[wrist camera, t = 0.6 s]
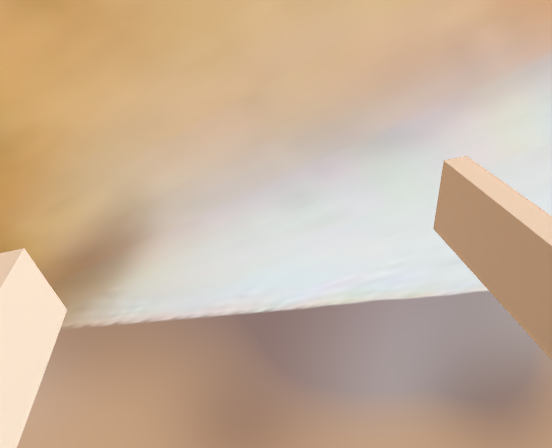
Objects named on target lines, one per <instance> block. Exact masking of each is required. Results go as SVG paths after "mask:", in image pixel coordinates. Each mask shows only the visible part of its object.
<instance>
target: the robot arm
mask: <svg viewBox="0 0 552 448" xmlns="http://www.w3.org/2000/svg"><path fill="white" fill-rule="evenodd" d="M434 230H435V231H436V232H437V233H438V234H439V235H440V237H441V238H442V239H443V240H444V241H445V242H446V243H447V244H448V245H449V247H450V248H451V249H452V250H453V251H454V252H455V253H456V254H457V255H458V257H459V258H460V259H461V260H462V261H463V262H464V263H465V264H466V265H467V267H468V268H469V269H470V270H471V271H472V272H473V273H474V274H475V275H476V277H477V278H478V279H479V280H480V281H481V282H482V283H483V284H484V285H485V287H486V288H487V289H488V290H489V291H490V292H491V293H492V294H493V295H494V297H496V299H497V300H498V301H499V302H500V303H501V304H502V305H503V306H504V308H505V309H506V310H507V311H508V312H509V313H510V314H511V315H512V317H513V318H514V319H515V320H516V321H517V322H518V323H519V324H520V325H521V326H522V328H523V329H524V330H525V331H526V332H527V333H528V334H529V335H530V337H531V338H533V340H534V341H535V342H536V343H537V344H538V345H539V347H540V348H541V349H542V350H543V351H544V352H545V353H546V354H547V355H548V356H549V357H550V359H551V360H552V216H551V215H549V214H548V213H546V212H545V211H544V210H542V209H541V208H539V207H538V206H536V205H535V204H534V203H532V202H531V201H529V200H528V199H527V198H525V197H524V196H522V195H521V194H520V193H518V192H517V191H515V190H514V189H512V188H511V187H510V186H508V185H507V184H505V183H504V182H503V181H501V180H500V179H498V178H497V177H496V176H494V175H493V174H491V173H490V172H488V171H487V170H486V169H484V168H483V167H481V166H480V165H479V164H477V163H476V162H474V161H473V160H472V159H470V158H469V157H467V156H464V157H459V158H454V159H449V160H444V163H443V170H442V176H441V183H440V190H439V196H438V203H437V209H436V216H435V222H434ZM66 312H67V309H66V308H65V306H64V305H63V303H62V302H61V300H60V299H59V298H58V296H57V295H56V293H55V292H54V290H53V289H52V288H51V286H50V285H49V283H48V282H47V280H46V279H45V278H44V276H43V275H42V273H41V272H40V270H39V269H38V268H37V266H36V265H35V263H34V262H33V260H32V259H31V257H30V256H29V255H28V253H27V252H26V250H25V249H24V248H23V249H18V250H14V251H9V252H4V253H0V448H17V446H18V443H19V440H20V437H21V435H22V432H23V429H24V426H25V424H26V421H27V418H28V415H29V413H30V410H31V407H32V404H33V402H34V399H35V396H36V393H37V391H38V388H39V385H40V383H41V380H42V377H43V375H44V372H45V369H46V366H47V364H48V361H49V358H50V356H51V353H52V350H53V347H54V344H55V342H56V339H57V336H58V334H59V331H60V328H61V325H62V323H63V320H64V317H65V315H66Z"/></svg>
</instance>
